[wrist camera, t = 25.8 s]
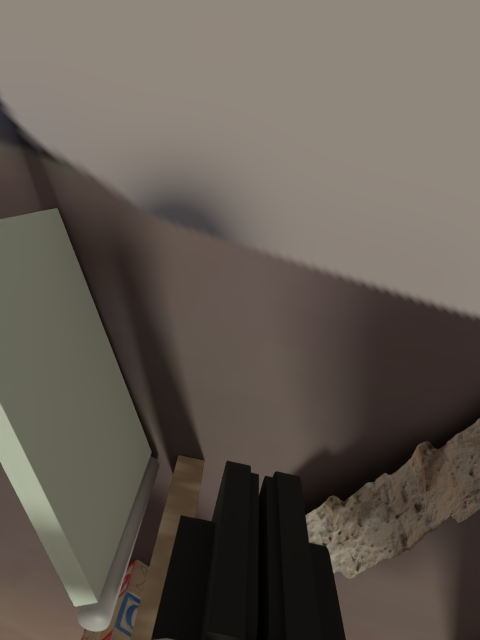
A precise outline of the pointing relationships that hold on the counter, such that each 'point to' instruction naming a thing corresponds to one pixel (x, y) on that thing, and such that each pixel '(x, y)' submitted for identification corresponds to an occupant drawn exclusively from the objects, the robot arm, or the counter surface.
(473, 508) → the stone fragment
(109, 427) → the door
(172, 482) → the door frame
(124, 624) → the stack of blocks
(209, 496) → the counter surface
